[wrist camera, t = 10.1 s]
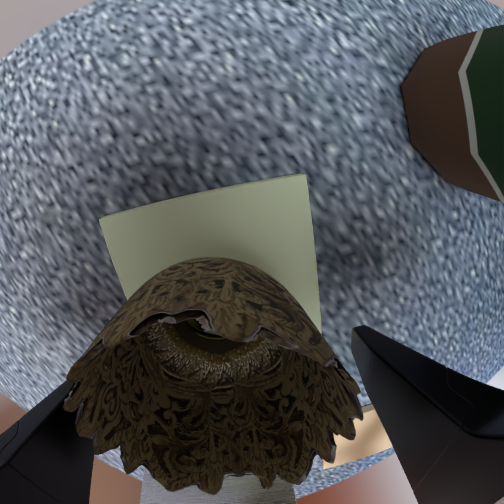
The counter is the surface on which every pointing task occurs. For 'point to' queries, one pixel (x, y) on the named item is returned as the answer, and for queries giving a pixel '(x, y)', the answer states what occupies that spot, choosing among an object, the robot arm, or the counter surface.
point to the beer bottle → (461, 110)
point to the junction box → (220, 492)
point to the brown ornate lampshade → (213, 380)
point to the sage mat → (222, 235)
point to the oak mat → (361, 439)
